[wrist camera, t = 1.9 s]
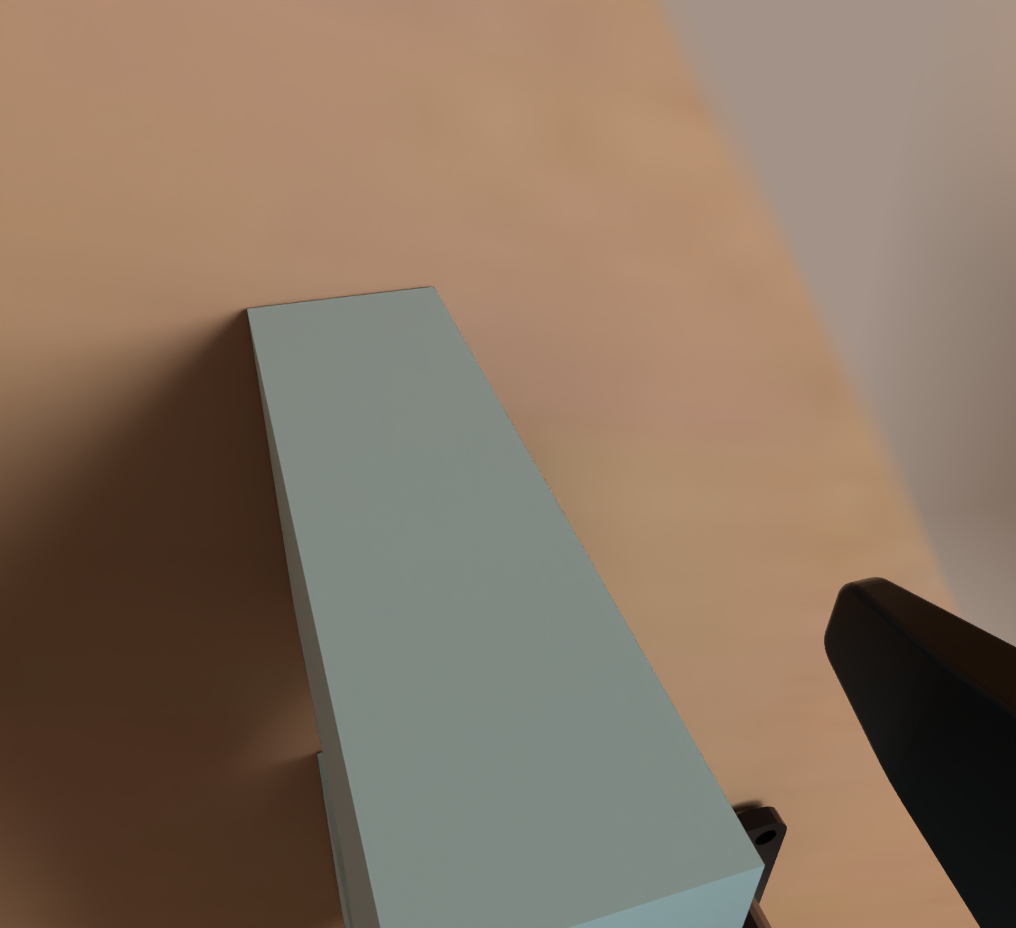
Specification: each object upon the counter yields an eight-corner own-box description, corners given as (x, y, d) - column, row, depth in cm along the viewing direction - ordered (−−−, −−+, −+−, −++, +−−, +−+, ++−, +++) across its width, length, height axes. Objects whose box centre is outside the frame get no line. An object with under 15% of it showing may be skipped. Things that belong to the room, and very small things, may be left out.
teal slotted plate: (446, 869, 17) (585, 1357, 12) (339, 900, 17) (436, 1424, 12) (434, 286, 10) (765, 865, 5) (246, 308, 10) (391, 983, 4)
